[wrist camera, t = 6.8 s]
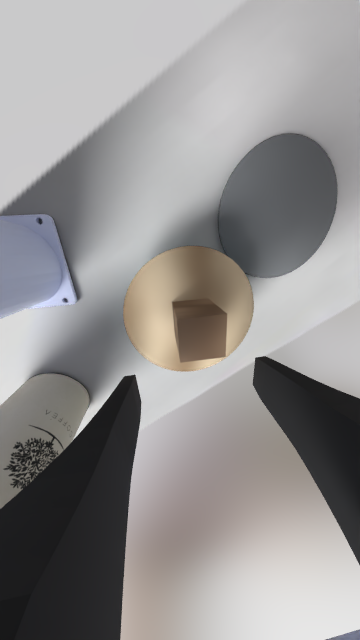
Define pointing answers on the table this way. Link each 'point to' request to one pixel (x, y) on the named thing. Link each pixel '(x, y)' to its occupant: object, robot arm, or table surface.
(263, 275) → the mat
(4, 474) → the travel mug
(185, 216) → the table surface
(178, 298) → the lid
